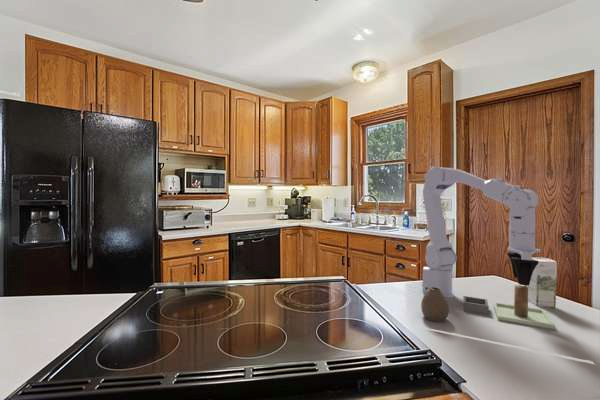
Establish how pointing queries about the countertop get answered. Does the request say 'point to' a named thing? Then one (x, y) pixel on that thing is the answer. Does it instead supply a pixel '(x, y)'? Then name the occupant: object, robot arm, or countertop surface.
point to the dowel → (521, 301)
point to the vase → (435, 305)
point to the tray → (534, 317)
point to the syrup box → (543, 283)
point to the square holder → (475, 305)
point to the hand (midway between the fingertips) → (521, 281)
